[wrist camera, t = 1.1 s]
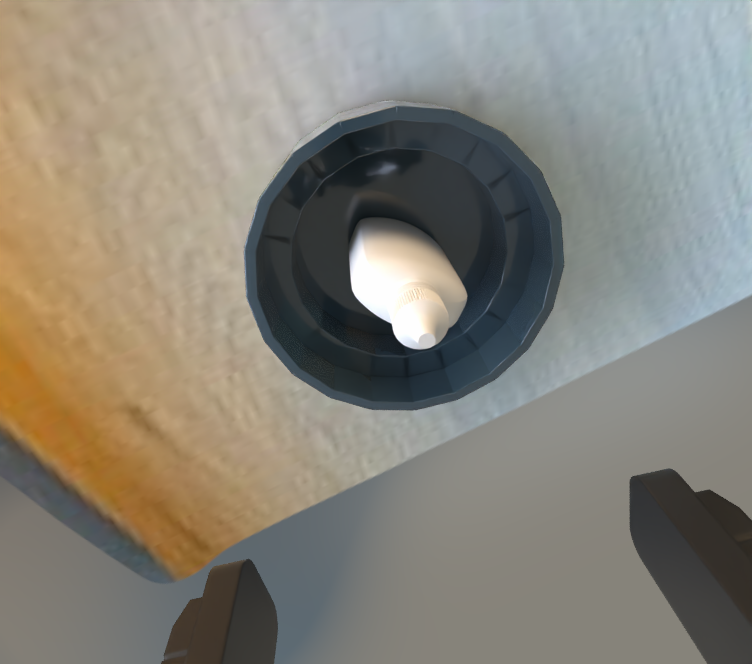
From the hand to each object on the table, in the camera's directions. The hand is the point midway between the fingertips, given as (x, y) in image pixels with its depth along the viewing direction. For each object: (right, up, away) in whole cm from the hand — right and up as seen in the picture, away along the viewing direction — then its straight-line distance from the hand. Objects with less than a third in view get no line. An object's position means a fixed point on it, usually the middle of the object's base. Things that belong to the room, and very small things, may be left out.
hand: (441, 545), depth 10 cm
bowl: (0, +10, +20) cm, 22 cm away
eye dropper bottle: (0, +10, +20) cm, 22 cm away
